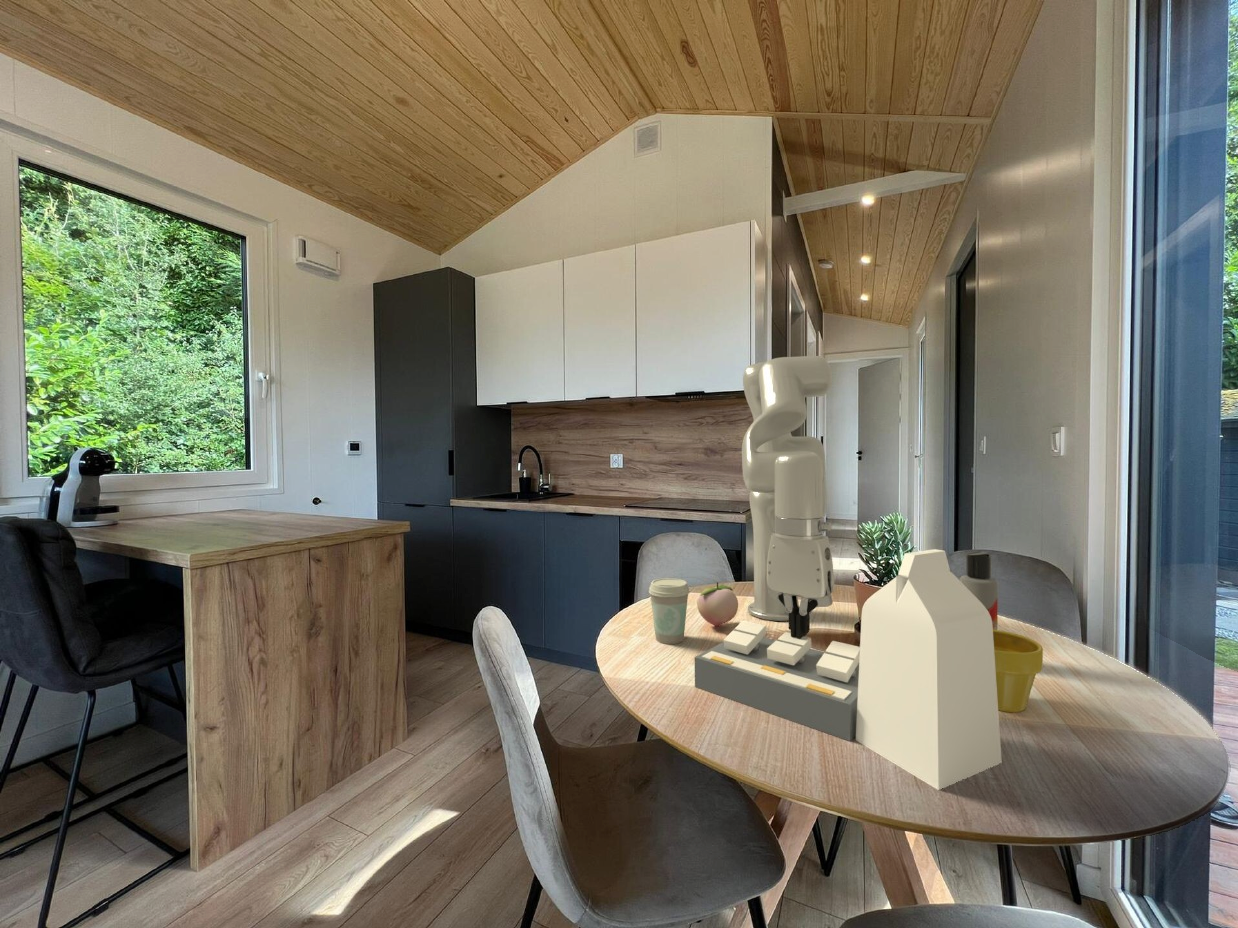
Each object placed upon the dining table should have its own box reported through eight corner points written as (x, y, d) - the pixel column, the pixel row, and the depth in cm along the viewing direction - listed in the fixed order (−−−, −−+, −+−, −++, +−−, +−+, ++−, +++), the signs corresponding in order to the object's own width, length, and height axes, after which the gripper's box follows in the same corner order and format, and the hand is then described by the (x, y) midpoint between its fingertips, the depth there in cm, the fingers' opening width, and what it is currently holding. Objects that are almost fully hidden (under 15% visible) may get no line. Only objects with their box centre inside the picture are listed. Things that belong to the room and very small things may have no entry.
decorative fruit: (721, 637, 110) (720, 590, 109) (691, 627, 116) (690, 583, 116) (747, 626, 116) (746, 582, 116) (717, 618, 122) (716, 575, 122)
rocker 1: (744, 628, 94) (742, 619, 94) (766, 633, 91) (765, 624, 91) (724, 648, 89) (723, 639, 89) (747, 654, 86) (746, 645, 86)
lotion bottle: (992, 668, 92) (992, 556, 91) (955, 659, 96) (955, 552, 96) (1001, 660, 95) (1001, 552, 95) (965, 651, 100) (965, 548, 99)
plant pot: (1057, 723, 73) (1057, 655, 73) (972, 714, 76) (972, 648, 76) (1023, 691, 83) (1024, 630, 83) (950, 683, 86) (950, 625, 86)
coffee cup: (641, 639, 109) (640, 583, 108) (666, 629, 115) (665, 575, 115) (673, 650, 103) (673, 590, 103) (698, 638, 109) (697, 581, 109)
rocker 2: (786, 640, 89) (785, 631, 89) (811, 646, 86) (810, 636, 86) (767, 658, 84) (766, 647, 84) (793, 665, 81) (793, 654, 81)
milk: (938, 790, 60) (938, 565, 59) (855, 740, 70) (854, 549, 70) (1001, 762, 65) (1001, 555, 64) (915, 719, 75) (915, 541, 74)
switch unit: (742, 657, 98) (742, 625, 98) (885, 698, 82) (885, 659, 81) (694, 686, 87) (694, 650, 87) (849, 741, 70) (849, 696, 70)
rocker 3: (833, 649, 83) (832, 639, 83) (862, 656, 80) (861, 646, 80) (817, 674, 79) (815, 664, 78) (847, 682, 76) (846, 672, 75)
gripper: (852, 528, 84) (853, 639, 85) (766, 520, 94) (767, 620, 95) (836, 534, 79) (836, 653, 79) (746, 526, 89) (748, 631, 89)
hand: (799, 635), depth 87 cm, fingers closed
